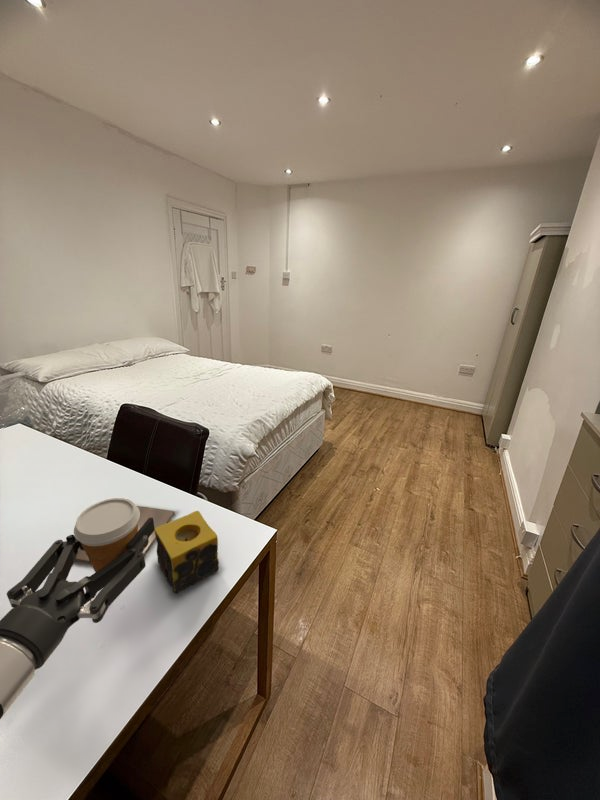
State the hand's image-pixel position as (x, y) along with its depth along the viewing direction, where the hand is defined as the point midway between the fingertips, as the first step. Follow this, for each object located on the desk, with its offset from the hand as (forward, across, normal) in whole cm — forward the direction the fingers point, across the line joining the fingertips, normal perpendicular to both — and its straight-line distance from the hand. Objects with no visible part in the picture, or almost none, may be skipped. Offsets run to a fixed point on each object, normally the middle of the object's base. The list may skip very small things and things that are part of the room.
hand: (129, 520), depth 59 cm
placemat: (+12, -13, -18) cm, 25 cm away
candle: (+6, +7, -18) cm, 20 cm away
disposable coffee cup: (-5, 0, -7) cm, 8 cm away
